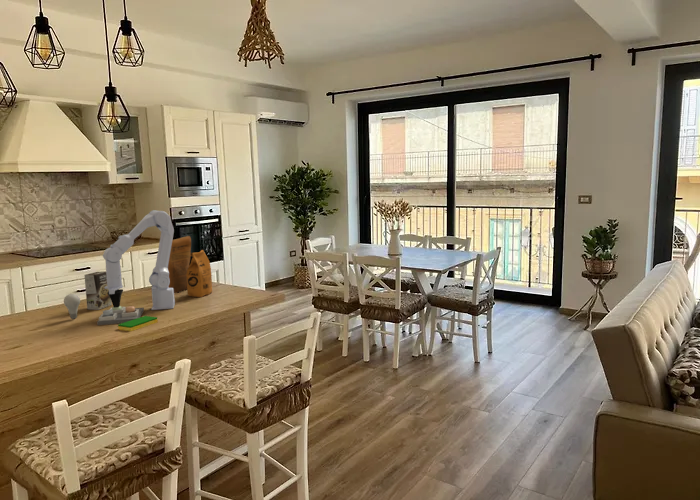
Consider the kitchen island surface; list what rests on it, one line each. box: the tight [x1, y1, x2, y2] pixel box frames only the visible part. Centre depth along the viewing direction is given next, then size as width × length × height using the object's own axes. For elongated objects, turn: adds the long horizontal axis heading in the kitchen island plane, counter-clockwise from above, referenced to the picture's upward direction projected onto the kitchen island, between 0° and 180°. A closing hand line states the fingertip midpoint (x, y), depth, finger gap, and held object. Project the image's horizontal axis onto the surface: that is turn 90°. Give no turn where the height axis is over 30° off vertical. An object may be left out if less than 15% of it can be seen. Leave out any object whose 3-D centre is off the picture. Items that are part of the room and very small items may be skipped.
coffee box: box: [84, 271, 113, 311], centre depth 233 cm, size 9×6×16 cm
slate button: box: [102, 309, 113, 317], centre depth 208 cm, size 4×4×2 cm
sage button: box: [111, 305, 122, 310], centre depth 218 cm, size 4×4×2 cm
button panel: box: [96, 306, 145, 326], centre depth 215 cm, size 15×18×3 cm
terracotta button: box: [125, 305, 136, 313], centre depth 213 cm, size 4×4×2 cm
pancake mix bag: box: [168, 235, 192, 294], centre depth 264 cm, size 7×19×28 cm, turn 157°
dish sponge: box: [117, 315, 159, 332], centre depth 203 cm, size 7×14×2 cm, turn 155°
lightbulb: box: [63, 293, 81, 320], centre depth 213 cm, size 6×6×11 cm
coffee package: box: [186, 249, 213, 298], centre depth 254 cm, size 10×12×22 cm
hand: (116, 307), depth 218 cm, fingers closed, pressing on sage button
